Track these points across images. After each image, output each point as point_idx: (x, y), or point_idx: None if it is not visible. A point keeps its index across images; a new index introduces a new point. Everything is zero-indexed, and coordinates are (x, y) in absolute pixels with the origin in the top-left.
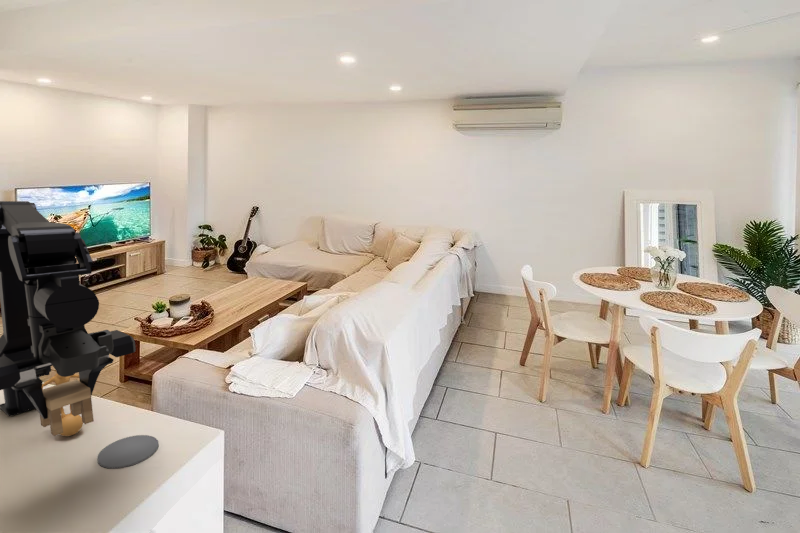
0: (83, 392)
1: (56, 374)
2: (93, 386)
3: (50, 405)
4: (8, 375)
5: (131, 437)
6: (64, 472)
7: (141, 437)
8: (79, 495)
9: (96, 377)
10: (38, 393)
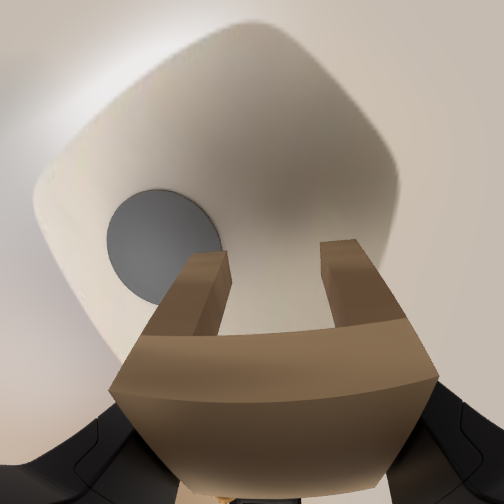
0: (163, 382)
1: (233, 499)
2: (111, 409)
3: (421, 348)
4: None
5: (147, 296)
6: (283, 274)
7: (131, 281)
8: (285, 159)
9: (66, 447)
10: (479, 453)
